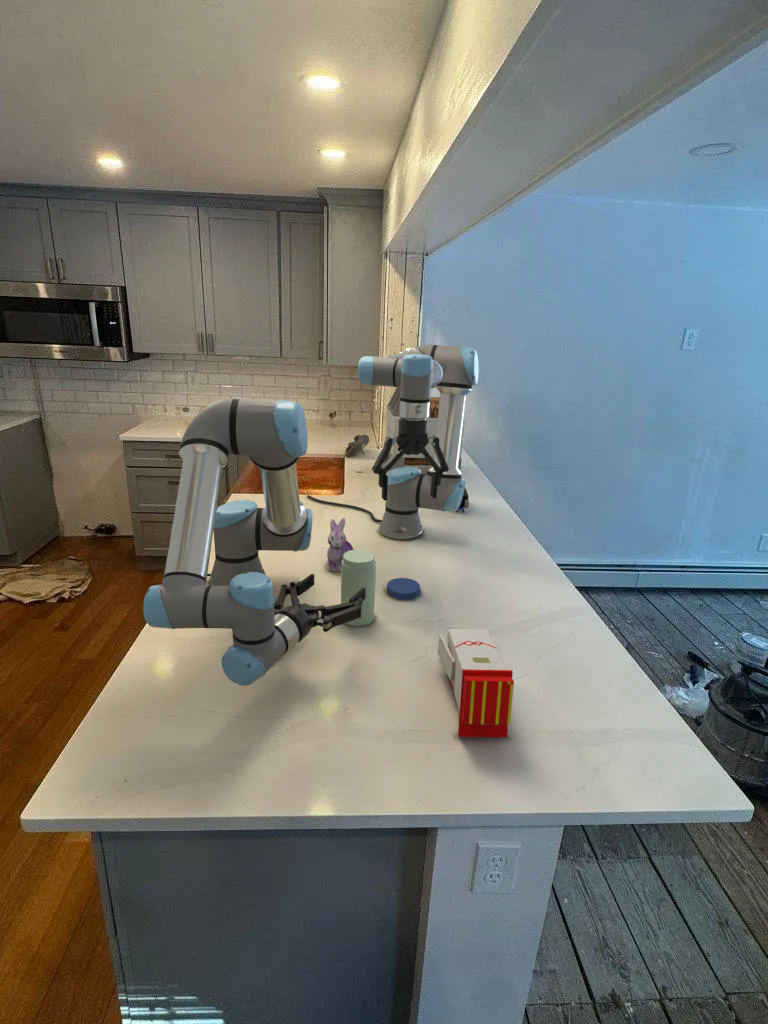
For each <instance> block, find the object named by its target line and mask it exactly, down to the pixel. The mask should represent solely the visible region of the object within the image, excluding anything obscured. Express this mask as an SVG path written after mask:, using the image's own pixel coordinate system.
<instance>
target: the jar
mask: <svg viewBox="0 0 768 1024" xmlns="http://www.w3.org/2000/svg"><path fill="white" fill-rule="evenodd" d="M340 572H341V573H340V575H341V577H340V604H344V603H349V599H350V598H352V597H353V596H354V595H355V594H356V593H357V592H358V591H359V590H361V589H362V588H366V594H365V600H364V601H362V606H361V607H362V608H361V617H360V618H358V619H355V620H352V621H350V622H347V623H345V624H346V625H349V626H353V627H354V626H355V627H361V626H367V625H369V624H371V623H373V621H374V619H375V602H376V580H377V578H376V577H377V561H376V555H375V553H374V552H372V551H370V550H367V549H353V550H350V551H347V552H346V553H344V555H343V560H342V569H341V571H340Z"/></svg>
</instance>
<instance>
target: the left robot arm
mask: <svg viewBox="0 0 768 1024" xmlns="http://www.w3.org/2000/svg"><path fill="white" fill-rule="evenodd" d="M307 450H308V429H307V418H306V414H305V411H304V408H303V406H302V405H301V404H300V403H299V402H297V401H293V400H286V399H247V398H246V399H244V398H242V399H241V398H223V399H219V400H216V401H214V402H212V403H209V404H208V405H207V406H206V407H204V408H203V409H201V411H200V412H198V413H197V414H196V415H195V417H194V418H193V419H192V420H191V421H190V423H189V424H188V426H187V428H186V429H185V431H184V433H183V436H182V438H181V441H180V446H179V451H178V456H179V459H180V461H181V462H182V467H181V471H180V478H179V484H178V490H177V495H176V501H175V506H174V513H173V518H172V525H171V529H170V536H169V540H168V547H167V552H166V558H165V565H164V570H163V576H162V577H163V579H162V582H161V584H160V583H159V584H155V585H150V586H149V587H148V589H147V591H146V593H145V594H144V599H143V605H142V607H143V608H142V609H143V610H142V611H143V618H144V620H145V623H146V624H147V625H148V626H149V627H151V628H157V629H171V630H176V629H224V630H225V629H227V630H228V629H231V631H232V646H229V647H228V648H227V650H225V652H224V653H223V655H222V657H221V660H220V662H221V664H220V665H221V668H222V671H223V673H224V675H225V676H226V677H227V678H228V680H230V681H231V682H232V683H234V684H236V685H238V686H242V687H246V686H249V685H252V684H253V683H254V682H256V681H257V680H259V679H260V678H262V677H263V676H264V675H266V673H267V672H268V671H269V670H270V669H271V668H273V667H274V666H275V665H276V664H277V663H278V662H279V661H280V660H281V659H282V658H284V656H285V655H287V654H288V653H289V652H290V651H291V650H293V648H295V647H296V646H297V645H298V644H299V643H300V642H301V641H303V640H304V639H305V638H306V637H307V636H308V635H309V633H310V632H311V630H312V629H313V628H315V627H317V626H318V627H321V628H322V631H323V632H325V633H326V632H327V633H328V632H329V631H331V630H332V629H333V628H336V627H338V626H341V625H345V624H346V623H347V622H350V621H352V620H355V619H358V618H360V617H361V608H362V607H361V606H362V601H364V600H365V594H366V588H362V589H361V590H359V591H358V592H357V593H356V594H355V595H354V596H353V597H352V598H350V599H349V603H344V604H341V603H337V604H333V605H328V606H325V605H316V606H315V605H312V604H311V605H310V604H309V603H306V602H304V603H301V602H300V598H299V597H300V596H301V595H303V594H304V593H306V592H307V591H308V590H309V589H311V588H312V587H313V586H315V573H310V574H309V575H307V576H306V577H305V578H303V579H302V580H300V581H297V582H294V581H291V582H289V585H287V584H285V583H284V584H281V586H280V589H279V592H278V595H277V599H276V600H275V598H274V597H275V596H274V586H273V581H272V579H271V578H270V577H269V576H268V575H266V571H265V570H264V567H263V565H262V562H261V559H260V556H259V551H278V552H281V551H282V552H285V551H286V552H294V553H295V552H300V551H301V552H305V551H307V550H308V549H309V548H310V545H311V540H312V531H313V521H314V520H313V518H314V517H313V515H314V513H313V510H312V509H311V508H307V507H306V506H305V505H304V504H303V502H301V500H300V491H299V490H300V489H299V480H298V470H297V469H298V468H297V463H298V461H299V460H300V458H301V457H303V456H305V455H306V454H307V452H308V451H307ZM231 455H235V456H249V459H250V461H251V462H252V464H253V465H254V466H255V467H257V468H258V472H259V477H260V482H261V487H262V492H263V497H264V503H265V506H264V507H258V504H257V502H256V501H254V500H249V499H242V500H240V499H239V500H234V501H229V502H226V503H224V504H221V505H219V506H218V499H219V494H220V493H219V491H220V485H221V477H222V470H223V468H225V467H226V466H227V465H228V463H229V458H230V457H229V456H231ZM212 543H214V544H213V545H214V557H215V558H214V563H213V567H212V570H211V573H209V565H210V558H211V552H212ZM208 577H209V585H207V580H208ZM288 595H289V597H290V603H291V604H287V605H285V603H286V600H287V596H288ZM319 612H320V613H319Z"/></svg>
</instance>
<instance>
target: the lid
mask: <svg viewBox="0 0 768 1024" xmlns="http://www.w3.org/2000/svg"><path fill="white" fill-rule="evenodd" d="M386 593H387V595H388V596H390V597H391V598H394V599H397V600H404V601H406V600H414V599H416V598H418V597H419V596H420V594H421V584H420V582H418V581H417V580H414V579H412V578H407V577H396V578H392V579H390V580H388V581H387V583H386Z"/></svg>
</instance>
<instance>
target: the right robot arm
mask: <svg viewBox="0 0 768 1024" xmlns="http://www.w3.org/2000/svg"><path fill="white" fill-rule="evenodd" d="M357 380H358V381H359V383H360V384H362V385H365V386H366V385H368V386H378V387H391V388H397V387H399V388H401V391H400V408H399V416H400V417H401V418H400V419H399V427H398V437H397V438H390V437H389V436H387V437H386V436H385V438H386V439H385V438H384V442H385V445H384V444H383V447H382V449H381V451H380V453H379V454H378V456H377V458H376V459H375V462H374V464H373V466H372V468H371V471H372V472H373V473H374V475H378V482H377V483H378V486H379V488H380V489H381V499H382V500H383V502H384V501H385V504H384V505H385V507H384V508H385V509H384V513H383V515H382V519H379V518H376V517H375V515H374V514H373V512H371V511H370V510H368V509H366V508H363V507H359V506H356V505H351V504H345V503H341V502H340V503H338V502H333V501H328V500H322V499H318V498H316V497H313V496H312V495H309V494H307V496H306V497H307V498H308V499H309V500H311V501H312V500H313V501H314V502H318V503H320V504H325V505H332V506H337V507H343V508H348V509H354V510H357V511H362V512H365V513H366V514H368V515H369V516H370V517H371V520H372V521H374V522H375V523H379V526H378V533H379V534H380V535H381V536H382V537H385V538H387V539H389V540H395V541H410V540H415V539H418V538H420V537H421V536H422V535H423V525H422V524H421V518H420V515H419V509H425V510H433V511H439V512H440V511H441V513H444V512H447V513H455V512H456V510H457V511H458V508H459V506H460V503H461V500H462V497H463V494H464V489H465V488H466V479H464V478H462V475H463V474H462V470H461V471H460V470H459V469H458V462H459V453H460V445H461V440H462V438H461V436H462V428H463V419H464V420H465V418H464V417H465V411H466V400H467V395H468V394H470V393H471V392H472V390H473V386H476V385H478V382H479V357H478V352H477V350H476V349H475V348H474V347H470V346H463V345H444V344H443V345H441V344H422V345H417V346H412V347H408V348H405V349H403V350H402V351H400V352H399V353H395V354H388V355H385V356H384V355H383V356H373V355H371V356H368V355H367V356H365V355H363V356H362V357H361V358H360V359H359V361H358V363H357ZM434 388H436V389H437V391H438V392H439V397H440V399H439V409H438V418H437V427H436V436H432V437H429V438H428V436H427V434H428V422H429V421H428V420H427V419H426V418H428V417H429V406H430V397H431V392H432V391H431V390H432V389H434ZM429 442H430V444H431V445H432V446H433V449H434V455H433V458H432V457H431V456H430V455H429V453H428V452H427V450H426V449H425V447H426V446H427V444H428V443H429ZM395 443H397V444H398V446H399V447H398V448H397V449H396V450H395V452H394V453H393V455H392V456H391V457H390V458H389V459H388V460H387V461H386V463H385V464H383V463H384V461H385V459H386V457H387V455H388V454H389V452H390V450H391V447H392V446H394V444H395ZM420 453H422V455H423V456H424V457H425V458H426V460H427V461H428V462H429V464H430V466H429V468H427V471H426V474H425V473H422V469H421V468H419V467H417V466H404V467H402V468H396V469H393V470H391V471H390V469H391V468H392V466H393V465H394V464H395V463H396V462H397V461H398V460H399V458H400V457H402V456H403V455H404V454H406V455H411V454H414V455H419V454H420Z"/></svg>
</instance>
